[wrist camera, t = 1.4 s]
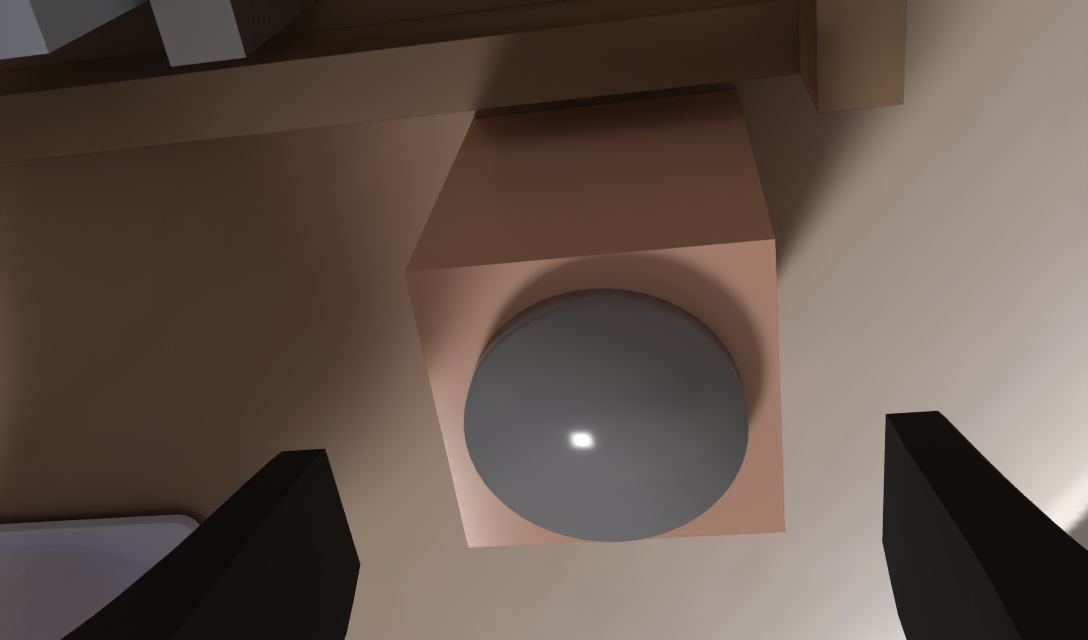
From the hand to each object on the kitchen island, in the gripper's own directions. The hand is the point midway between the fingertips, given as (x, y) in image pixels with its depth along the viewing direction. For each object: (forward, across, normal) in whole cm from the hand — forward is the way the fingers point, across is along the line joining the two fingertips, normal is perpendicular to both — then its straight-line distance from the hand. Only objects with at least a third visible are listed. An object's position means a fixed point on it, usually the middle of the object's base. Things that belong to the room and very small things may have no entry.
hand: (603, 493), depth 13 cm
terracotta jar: (+8, 0, 0) cm, 8 cm away
